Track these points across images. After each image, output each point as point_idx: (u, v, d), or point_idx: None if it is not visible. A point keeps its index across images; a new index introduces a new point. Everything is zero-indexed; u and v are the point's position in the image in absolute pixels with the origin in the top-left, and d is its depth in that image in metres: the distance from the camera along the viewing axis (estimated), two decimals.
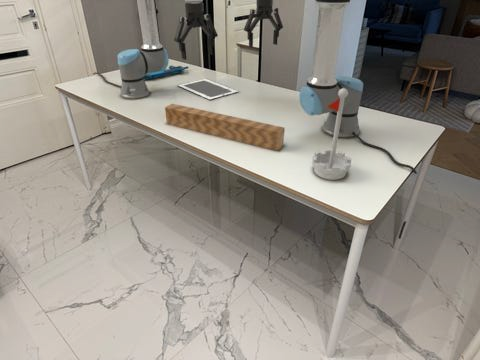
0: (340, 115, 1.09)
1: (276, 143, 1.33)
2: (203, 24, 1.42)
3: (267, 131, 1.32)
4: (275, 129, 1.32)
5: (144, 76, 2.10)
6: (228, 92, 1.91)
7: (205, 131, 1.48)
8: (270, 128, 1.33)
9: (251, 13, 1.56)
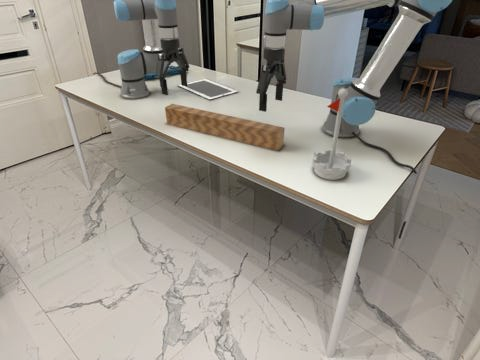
0: (340, 115, 1.09)
1: (276, 143, 1.33)
2: None
3: (267, 131, 1.32)
4: (275, 129, 1.32)
5: (144, 76, 2.10)
6: (228, 92, 1.91)
7: (205, 131, 1.48)
8: (270, 128, 1.33)
9: (265, 70, 1.18)
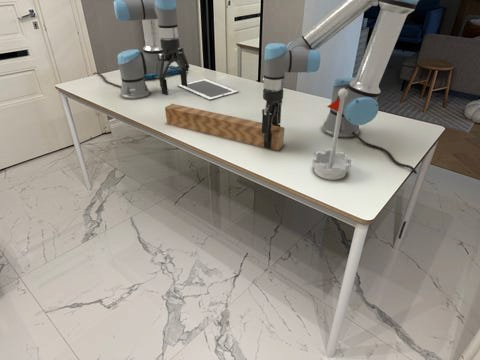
0: (340, 115, 1.09)
1: (276, 143, 1.33)
2: None
3: None
4: (275, 129, 1.32)
5: (144, 76, 2.10)
6: (228, 92, 1.91)
7: (205, 131, 1.48)
8: None
9: (266, 114, 1.25)
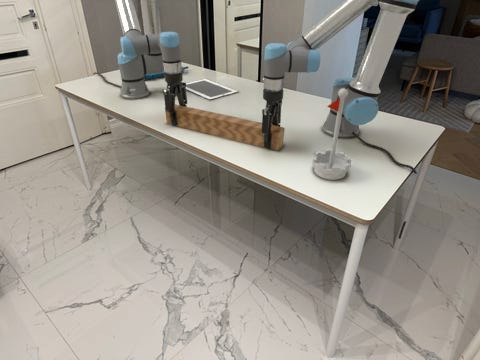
0: (340, 115, 1.09)
1: (276, 143, 1.33)
2: None
3: None
4: (275, 129, 1.32)
5: (144, 76, 2.10)
6: (228, 92, 1.91)
7: (205, 131, 1.48)
8: None
9: (266, 114, 1.25)
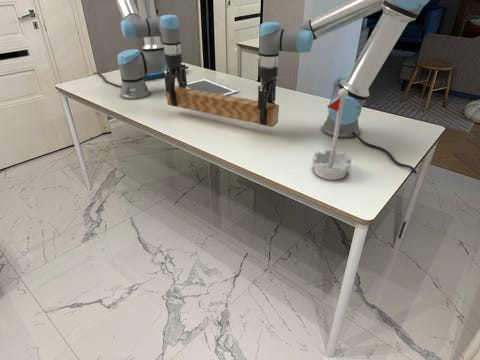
0: (340, 115, 1.09)
1: (270, 119, 1.39)
2: None
3: None
4: (270, 106, 1.39)
5: (144, 76, 2.10)
6: (228, 92, 1.91)
7: (204, 110, 1.54)
8: None
9: (262, 91, 1.31)
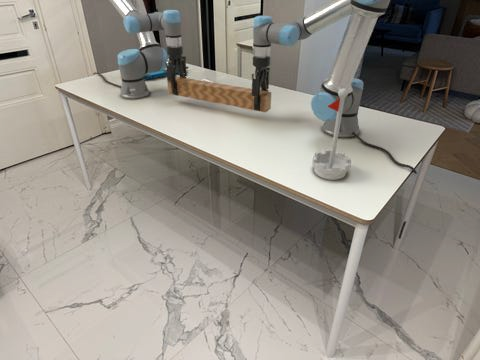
0: (340, 115, 1.09)
1: (264, 105, 1.53)
2: None
3: None
4: (263, 93, 1.52)
5: (144, 76, 2.10)
6: None
7: (202, 98, 1.67)
8: None
9: (255, 78, 1.44)
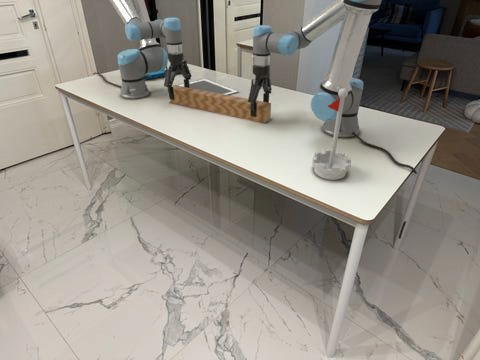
0: (340, 115, 1.09)
1: (263, 116, 1.56)
2: None
3: None
4: (263, 104, 1.55)
5: (144, 76, 2.10)
6: (228, 92, 1.91)
7: (203, 108, 1.70)
8: (259, 103, 1.56)
9: (254, 84, 1.45)
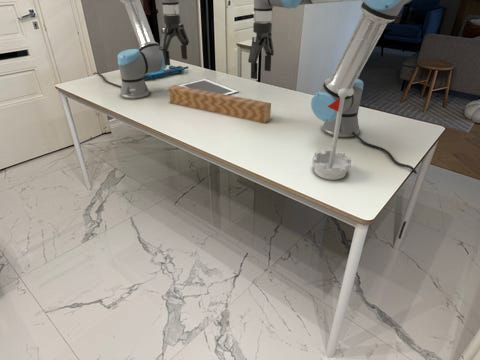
0: (340, 115, 1.09)
1: (263, 116, 1.56)
2: None
3: (256, 106, 1.55)
4: (263, 104, 1.55)
5: (144, 76, 2.10)
6: (228, 92, 1.91)
7: (203, 108, 1.70)
8: (259, 103, 1.56)
9: (255, 42, 1.36)
